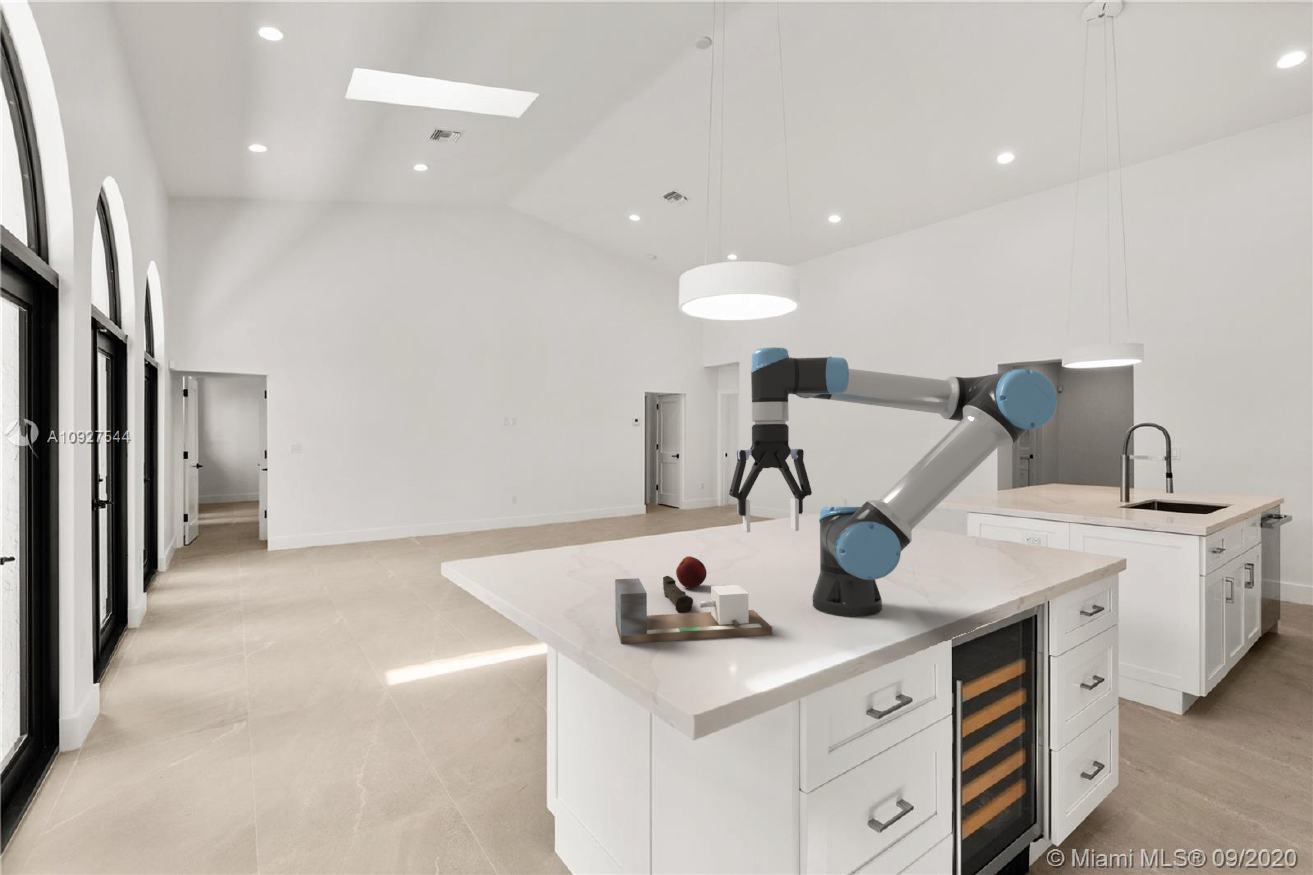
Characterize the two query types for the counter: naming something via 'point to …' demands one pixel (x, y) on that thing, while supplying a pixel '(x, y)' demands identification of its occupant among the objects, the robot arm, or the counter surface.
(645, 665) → the counter surface
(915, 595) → the counter surface
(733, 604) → the gauge slider
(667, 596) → the hand tool
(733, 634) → the gauge board
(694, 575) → the apple
